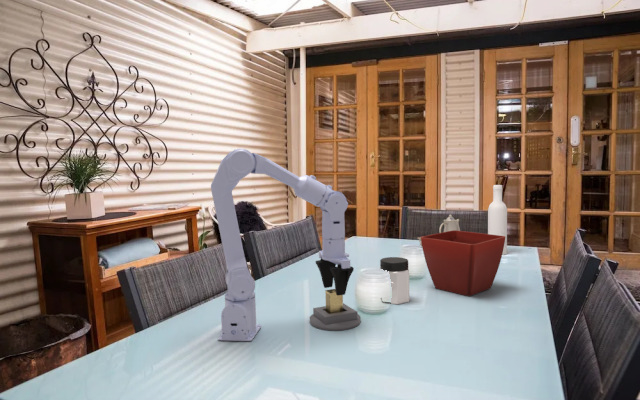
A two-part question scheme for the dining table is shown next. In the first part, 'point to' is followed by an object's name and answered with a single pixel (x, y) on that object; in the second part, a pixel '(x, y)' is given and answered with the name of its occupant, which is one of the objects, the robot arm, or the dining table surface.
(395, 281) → the jar
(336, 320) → the hub
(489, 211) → the bottle
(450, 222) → the chinaware
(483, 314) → the dining table surface
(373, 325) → the dining table surface
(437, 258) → the plant pot
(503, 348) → the dining table surface
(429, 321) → the dining table surface
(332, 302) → the shaft
